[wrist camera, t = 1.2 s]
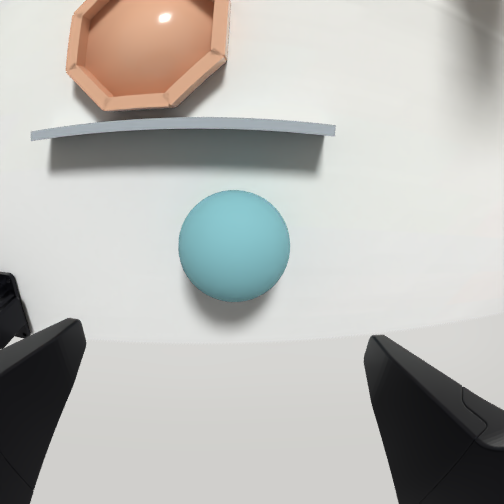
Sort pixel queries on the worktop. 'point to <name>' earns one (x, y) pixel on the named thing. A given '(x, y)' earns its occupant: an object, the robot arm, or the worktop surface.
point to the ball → (234, 246)
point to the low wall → (187, 126)
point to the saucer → (146, 50)
